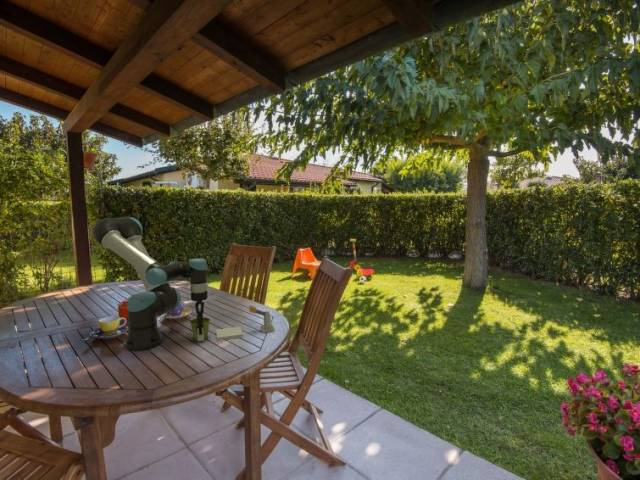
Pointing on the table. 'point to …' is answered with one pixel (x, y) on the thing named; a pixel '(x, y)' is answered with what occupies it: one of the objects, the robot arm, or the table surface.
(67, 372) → the table surface
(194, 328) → the plant pot
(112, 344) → the table surface
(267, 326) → the lever stand
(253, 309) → the press lever
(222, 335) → the plate
